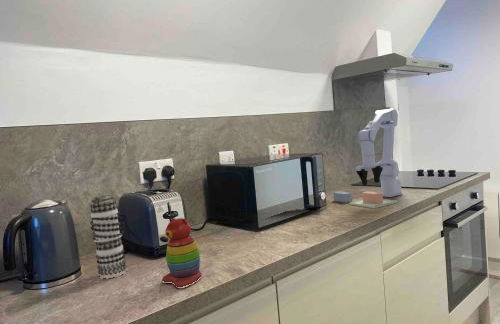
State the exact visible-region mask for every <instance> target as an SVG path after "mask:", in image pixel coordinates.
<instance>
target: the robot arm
mask: <svg viewBox="0 0 500 324" xmlns="http://www.w3.org/2000/svg"><path fill="white" fill-rule="evenodd" d="M398 117H399V114H398V112H397V109H396V108H394V107H393V108H387V109H380V110H379V109H378V110H377V109H376V110H375V113H374V118H373V120H371V121H369V122H368V123H367V125H365V127H364V128H363V129H362V130H361V129H360V131H358V134H357V141H358V142H359V146H360V148H361V149H360V151H361V160H362V161H361V162H362V164H361V165H357V166H356V167H355V171H356V174H357V176H359V179H360V181H361V184H362V186H367V185H368V172H369V171H368V170H369V169H371V172H372V175H373V181H374V183H380V186H381V193H383V198H384V197H386V198H391V197H392V198H393V197H396V196H401V195H404V193H403V191H402V182H401V179H400V178H399V177H398V176H399V174H400V169H399V164H398V162H397V161H396V160H395V159H394V157H393V156H394V140H395V138H394V137H395V127H397V126H398V119H399V118H398ZM380 128H381V129H382V128H383V139H382V140H383V144H382V145H383V146H382V156H381V157H382V158H381V159H380V160H379V161H378V162H376V154H375V153H376V152H375V145H374V141H376V136H377V132H378V131H379V130H380Z"/></svg>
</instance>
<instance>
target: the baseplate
mask: <svg viewBox="0 0 500 324" xmlns="http://www.w3.org/2000/svg"><path fill="white" fill-rule="evenodd" d="M348 203H349V204H348V205H349V206H350V205H351V206H357V207H363V208H369V209H377V208H381V207H385V206H389V205H393V204H398V203H399V201H398V200H396V199H389V198H383V203H379V204H373V203H367V202H363V199H360V200H359V199H358V200H355V201H352V202H348Z"/></svg>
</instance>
